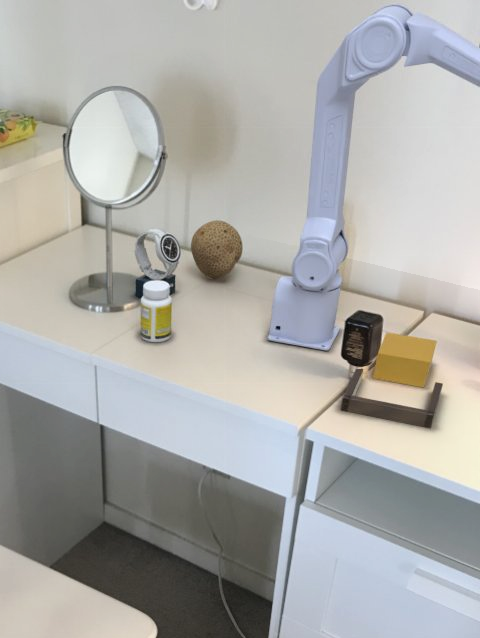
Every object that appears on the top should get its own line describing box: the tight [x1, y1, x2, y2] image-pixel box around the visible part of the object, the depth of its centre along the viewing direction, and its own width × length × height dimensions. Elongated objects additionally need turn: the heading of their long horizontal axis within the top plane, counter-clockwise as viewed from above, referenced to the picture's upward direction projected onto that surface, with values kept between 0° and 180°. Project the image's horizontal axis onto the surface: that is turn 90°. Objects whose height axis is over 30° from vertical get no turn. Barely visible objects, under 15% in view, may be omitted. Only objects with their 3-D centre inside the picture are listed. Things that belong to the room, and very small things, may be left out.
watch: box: [134, 227, 182, 299], centre depth 137 cm, size 6×8×11 cm
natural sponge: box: [190, 219, 243, 280], centre depth 143 cm, size 9×9×10 cm
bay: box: [340, 368, 444, 429], centre depth 110 cm, size 12×9×2 cm
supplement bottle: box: [140, 280, 173, 343], centre depth 125 cm, size 5×5×8 cm
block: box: [372, 332, 438, 388], centre depth 116 cm, size 7×7×4 cm
